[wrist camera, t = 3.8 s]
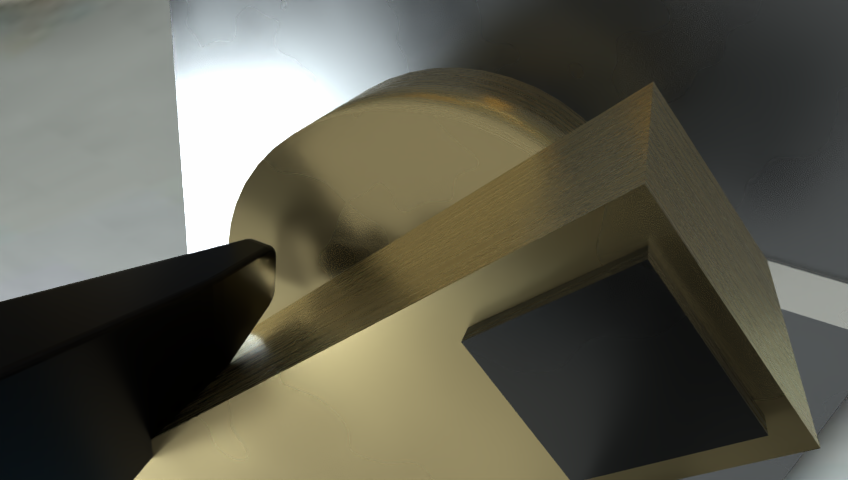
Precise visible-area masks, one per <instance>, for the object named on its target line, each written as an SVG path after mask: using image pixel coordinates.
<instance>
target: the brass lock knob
mask: <svg viewBox="0 0 848 480" xmlns="http://www.w3.org/2000/svg"><path fill="white" fill-rule="evenodd" d="M244 239H254V240H257V241H260V242H262V243H265V244H268V245H270V246H272V247H273V248H274V249H275V252H276V277H275V292H274V296H273V299H272V301H271V303H270V305H269V307H268V308H267V310H266V311H265V313H264V314H263V315H262V317H261V318H260V320H259V321H258V323H257V324H256V326H255V327H254V329H253V330H252V332H251V333H250V335H249V336H248V337H247V339H246V340H245V342H244V343H243V345H242V346H241V348H240V349H239V351H238V352H237V354H236V355H235V357H234V358H233V360H232V361H231V362H230V364H229V365H228V366H227V367H226V368H225V369H224V370H223V371H222V372H221V373H220V374H219V375H218V376H217V377H216V378H215V379H214V380H213V381H212V382H211V383H210V384H209V385H208V386H207V387H206V388H205V389H204V390H203V391H202V392H201V393H200V394H198V395H197V396H196V397H195V398H194V399H193V400H192V401H191V402H190V403H189V404H188V405H187V406H186V407H185V408H184V409H183V410H182V411H181V412H180V413H179V414H178V415H177V416H176V417H174V418H173V419H172V420H171V421H170V422H169V423H168V424H167V425H166V426H165V427H164V428H163V429H162V430H161V431H160V432H159V433H158V434H157V435H156V436H155V437H154V438H153V439H152V440H151V444H152V452H153V458H152V459H151V460H150V461H149V462H148V463H147V465H146V466H145V467H144V468H143V469H142V470H141V472H140V473H139V474H138V475H137V476H136V477H135V479H134V480H678V479H683V478H687V477H692V476H696V475H701V474H705V473H710V472H715V471H719V470H724V469H728V468H733V467H737V466H742V465H746V464H751V463H755V462H760V461H764V460H769V459H773V458H778V457H782V456H787V455H791V454H796V453H801V452H805V451H810V450H814V449H819V448H820V445H819V441H818V438H817V434H816V431H815V427H814V424H813V420H812V416H811V413H810V409H809V406H808V402H807V399H806V395H805V392H804V388H803V385H802V381H801V378H800V374H799V371H798V367H797V364H796V360H795V357H794V353H793V349H792V346H791V342H790V339H789V335H788V332H787V328H786V325H785V321H784V318H783V314H782V311H781V307H780V304H779V300H778V297H777V293H776V290H775V286H774V283H773V279H772V275H771V272H770V268H769V265H768V261H767V259H766V258H765V256H764V254H763V253H762V251H761V250H760V248H759V247H758V245H757V243H756V242H755V240H754V239H753V237H752V236H751V234H750V232H749V231H748V229H747V228H746V226H745V225H744V223H743V221H742V220H741V218H740V217H739V215H738V214H737V212H736V210H735V209H734V207H733V206H732V204H731V203H730V201H729V199H728V198H727V196H726V195H725V193H724V191H723V190H722V188H721V187H720V185H719V184H718V182H717V180H716V179H715V177H714V176H713V174H712V173H711V171H710V169H709V168H708V166H707V165H706V163H705V162H704V160H703V158H702V157H701V155H700V154H699V152H698V151H697V149H696V147H695V146H694V144H693V143H692V141H691V140H690V138H689V136H688V135H687V133H686V132H685V130H684V129H683V127H682V125H681V124H680V122H679V121H678V119H677V118H676V116H675V114H674V113H673V111H672V110H671V108H670V107H669V105H668V103H667V102H666V100H665V99H664V97H663V96H662V94H661V92H660V91H659V89H658V88H657V86H656V85H655V83H654V81H653V82H651V83H650V84H648V85H647V86H645V87H643V88H642V89H640V90H638V91H637V92H635V93H634V94H632V95H630V96H629V97H627V98H625V99H624V100H622V101H621V102H619V103H617V104H616V105H614V106H612V107H611V108H609V109H608V110H606V111H604V112H603V113H601V114H599V115H598V116H596V117H594V118H593V119H591V120H590V121H588V122H586V121H585V120H584V119H583V118H582V117H581V116H580V115H578V114H577V113H576V112H574V111H573V110H572V109H570V108H569V107H568V106H566V105H565V104H564V103H562V102H561V101H559V100H558V99H556V98H554V97H552V96H551V95H549V94H547V93H545V92H543V91H542V90H540V89H538V88H536V87H534V86H531V85H529V84H526V83H524V82H521V81H519V80H516V79H514V78H511V77H508V76H504V75H500V74H496V73H492V72H488V71H484V70H475V69H466V68H432V69H426V70H421V71H415V72H409V73H406V74H403V75H400V76H397V77H394V78H391V79H388V80H386V81H384V82H382V83H380V84H378V85H376V86H374V87H372V88H370V89H368V90H366V91H364V92H363V93H361V94H359V95H358V96H356V97H354V98H353V99H351V100H349V101H348V102H346V103H344V104H342V105H341V106H339V107H337V108H336V109H334V110H332V111H331V112H329V113H327V114H326V115H324V116H322V117H321V118H319V119H317V120H316V121H314V122H312V123H311V124H309V125H307V126H305V127H304V128H302V129H300V130H299V131H297V132H295V133H294V134H292V135H291V136H289V137H288V138H287V139H285V140H284V141H283V142H281V143H280V144H279V145H277V146H276V147H274V148H273V149H272V150H271V151H270V152H269V153H268V154H267V155H266V156H265V157H264V159H263V160H262V161H261V162H260V163H259V164H258V165H257V166H256V168H255V169H254V171H253V172H252V174H251V175H250V177H249V178H248V180H247V181H246V182H245V184H244V187H243V189H242V191H241V193H240V195H239V198H238V200H237V202H236V205H235V209H234V212H233V216H232V220H231V224H230V232H229V241H228V243H232V242H236V241H240V240H244Z"/></svg>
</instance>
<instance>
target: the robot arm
mask: <svg viewBox="0 0 848 480" xmlns="http://www.w3.org/2000/svg"><path fill="white" fill-rule="evenodd" d="M275 277H276V252H275V249H274V248H273V247H272V246H270V245H268V244H265V243H262V242H260V241H257V240H254V239H244V240H240V241H236V242H232V243H228V244H224V245H221V246H217V247H213V248H209V249H205V250H201V251H197V252H193V253H189V254H185V255H182V256H178V257H174V258H170V259H166V260H162V261H158V262H154V263H150V264H146V265H142V266H139V267H135V268H131V269H127V270H123V271H119V272H115V273H111V274H107V275H103V276H99V277H95V278H92V279H88V280H84V281H80V282H76V283H72V284H68V285H64V286H60V287H56V288H52V289H48V290H45V291H41V292H37V293H33V294H29V295H25V296H21V297H17V298H13V299H9V300H5V301H1V302H0V480H134V479H135V477H136V476H137V475H138V474H139V473H140V472H141V470H142V469H143V468H144V467H145V466H146V465H147V463H148V462H149V461H150V460H151V459H152V458H153V452H152V444H151V440H152V439H153V438H154V437H155V436H156V435H157V434H158V433H159V432H160V431H161V430H162V429H163V428H164V427H165V426H166V425H167V424H168V423H169V422H170V421H171V420H172V419H173V418H174V417H176V416H177V415H178V414H179V413H180V412H181V411H182V410H183V409H184V408H185V407H186V406H187V405H188V404H189V403H190V402H191V401H192V400H193V399H194V398H195V397H196V396H197V395H198V394H200V393H201V392H202V391H203V390H204V389H205V388H206V387H207V386H208V385H209V384H210V383H211V382H212V381H213V380H214V379H215V378H216V377H217V376H218V375H219V374H220V373H221V372H222V371H223V370H224V369H225V368H226V367H227V366H228V365H229V364H230V362H231V361H232V360H233V358H234V357H235V355H236V354H237V352H238V351H239V349H240V348H241V346H242V345H243V343H244V342H245V340H246V339H247V337H248V336H249V335H250V333H251V332H252V330H253V329H254V327H255V326H256V324H257V323H258V321H259V320H260V318H261V317H262V315H263V314H264V313H265V311H266V310H267V308H268V307H269V305H270V303H271V301H272V299H273V296H274V292H275Z"/></svg>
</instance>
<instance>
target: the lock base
mask: <svg viewBox="0 0 848 480" xmlns="http://www.w3.org/2000/svg"><path fill="white" fill-rule="evenodd" d="M170 13H171V27H172V41H173V55H174V68H175V82H176V96H177V110H178V123H179V137H180V151H181V165H182V179H183V192H184V206H185V220H186V234H187V248H188V254H189V253H193V252H197V251H201V250H205V249H209V248H213V247H217V246H221V245H224V244H228V241H229V232H230V224H231V220H232V216H233V212H234V209H235V205H236V202H237V200H238V198H239V195H240V193H241V191H242V189H243V187H244V184H245V182H246V181H247V180H248V178H249V177H250V175H251V174H252V172H253V171H254V169H255V168H256V166H257V165H258V164H259V163H260V162H261V161H262V160H263V159H264V157H265V156H266V155H267V154H268V153H269V152H270V151H271V150H272V149H273V148H274V147H276V146H277V145H279V144H280V143H281V142H283V141H284V140H285V139H287V138H288V137H289V136H291V135H292V134H294V133H295V132H297V131H299V130H300V129H302V128H304V127H305V126H307V125H309V124H311V123H312V122H314V121H316V120H317V119H319V118H321V117H322V116H324V115H326V114H327V113H329V112H331V111H332V110H334V109H336V108H337V107H339V106H341V105H342V104H344V103H346V102H348V101H349V100H351V99H353V98H354V97H356V96H358V95H359V94H361V93H363V92H364V91H366V90H368V89H370V88H372V87H374V86H376V85H378V84H380V83H382V82H384V81H386V80H388V79H391V78H394V77H397V76H400V75H403V74H406V73H409V72H415V71H421V70H426V69H432V68H466V69H475V70H484V71H488V72H492V73H496V74H500V75H504V76H508V77H511V78H514V79H516V80H519V81H521V82H524V83H526V84H529V85H531V86H534V87H536V88H538V89H540V90H542V91H543V92H545V93H547V94H549V95H551V96H552V97H554V98H556V99H558V100H559V101H561V102H562V103H564V104H565V105H566V106H568V107H569V108H570V109H572V110H573V111H574V112H576V113H577V114H578V115H580V116H581V117H582V118H583V119H584V120H585V121H586V122H588V121H590V120H591V119H593V118H594V117H596V116H598V115H599V114H601V113H603V112H604V111H606V110H608V109H609V108H611V107H612V106H614V105H616V104H617V103H619V102H621V101H622V100H624V99H625V98H627V97H629V96H630V95H632V94H634V93H635V92H637V91H638V90H640V89H642V88H643V87H645V86H647V85H648V84H650V83H651V82H653V81H654V83H655V85H656V86H657V88H658V89H659V91H660V92H661V94H662V96H663V97H664V99H665V100H666V102H667V103H668V105H669V107H670V108H671V110H672V111H673V113H674V114H675V116H676V118H677V119H678V121H679V122H680V124H681V125H682V127H683V129H684V130H685V132H686V133H687V135H688V136H689V138H690V140H691V141H692V143H693V144H694V146H695V147H696V149H697V151H698V152H699V154H700V155H701V157H702V158H703V160H704V162H705V163H706V165H707V166H708V168H709V169H710V171H711V173H712V174H713V176H714V177H715V179H716V180H717V182H718V184H719V185H720V187H721V188H722V190H723V191H724V193H725V195H726V196H727V198H728V199H729V201H730V203H731V204H732V206H733V207H734V209H735V210H736V212H737V214H738V215H739V217H740V218H741V220H742V221H743V223H744V225H745V226H746V228H747V229H748V231H749V232H750V234H751V236H752V237H753V239H754V240H755V242H756V243H757V245H758V247H759V248H760V250H761V251H762V253H763V254H764V256H765V258H766V259H767V261H768V265H769V268H770V272H771V275H772V279H773V283H774V286H775V290H776V293H777V297H778V300H779V304H780V307H781V311H782V314H783V318H784V321H785V325H786V328H787V332H788V335H789V339H790V342H791V346H792V349H793V353H794V357H795V360H796V364H797V367H798V371H799V374H800V378H801V381H802V385H803V388H804V392H805V395H806V399H807V402H808V406H809V409H810V413H811V416H812V420H813V424H814V427H815V431H816V434H818V433H819V432H820V431H821V429H822V428H823V427H824V425H825V424H826V423H827V421H828V420H829V419H830V417H831V416H832V415H833V413H834V412H835V411H836V409H837V408H838V407H839V405H840V404H841V403H842V401H843V400H844V399H845V398H846V396H847V395H848V0H170ZM803 453H804V452H801V453H796V454H791V455H787V456H782V457H778V458H773V459H769V460H764V461H760V462H755V463H751V464H746V465H742V466H737V467H733V468H728V469H724V470H719V471H715V472H710V473H705V474H701V475H696V476H692V477H687V478H683V479H678V480H783V479H784V478H785V477H786V475H787V474H788V473H789V471H790V470H791V469H792V467H793V466H794V465H795V463H796V462H797V461H798V460H799V458H800V457H801V456H802V454H803Z"/></svg>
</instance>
